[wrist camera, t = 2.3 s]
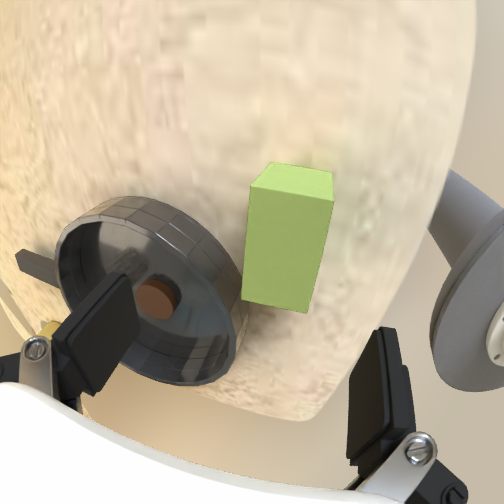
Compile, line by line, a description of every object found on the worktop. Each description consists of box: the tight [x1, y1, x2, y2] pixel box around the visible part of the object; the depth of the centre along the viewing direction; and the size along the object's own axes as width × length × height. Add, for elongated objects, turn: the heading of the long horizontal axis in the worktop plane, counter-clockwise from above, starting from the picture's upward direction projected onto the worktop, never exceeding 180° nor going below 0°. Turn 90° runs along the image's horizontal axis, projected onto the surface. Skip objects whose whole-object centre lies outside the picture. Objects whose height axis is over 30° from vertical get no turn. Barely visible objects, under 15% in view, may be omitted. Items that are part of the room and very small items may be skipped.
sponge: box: [241, 162, 334, 313], centre depth 17 cm, size 4×7×6 cm, turn 175°
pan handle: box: [15, 249, 60, 289], centre depth 27 cm, size 10×2×2 cm, turn 85°
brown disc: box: [136, 279, 177, 319], centre depth 26 cm, size 4×4×1 cm
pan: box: [54, 196, 249, 386], centre depth 25 cm, size 19×19×4 cm
